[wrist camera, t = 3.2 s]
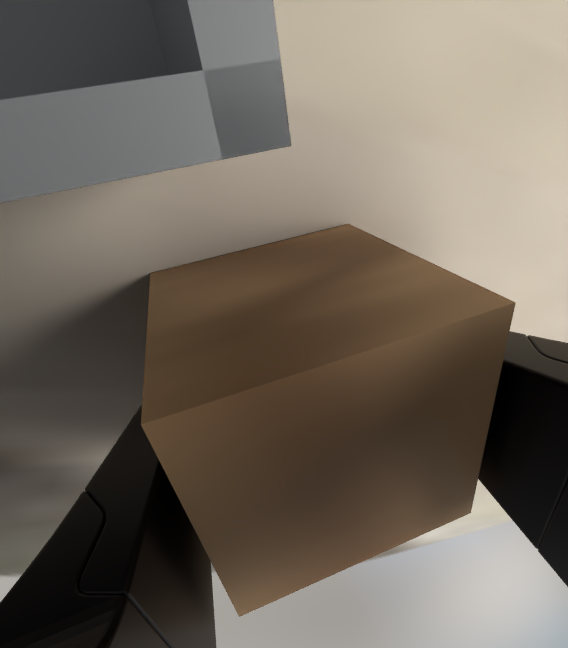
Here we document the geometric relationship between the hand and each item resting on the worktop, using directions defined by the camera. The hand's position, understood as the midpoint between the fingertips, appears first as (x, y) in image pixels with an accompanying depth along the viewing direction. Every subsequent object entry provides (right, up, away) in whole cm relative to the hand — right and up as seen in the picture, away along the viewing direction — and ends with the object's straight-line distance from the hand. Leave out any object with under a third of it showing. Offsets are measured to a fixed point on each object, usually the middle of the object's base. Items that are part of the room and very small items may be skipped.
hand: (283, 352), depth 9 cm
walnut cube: (0, 0, +1) cm, 1 cm away
